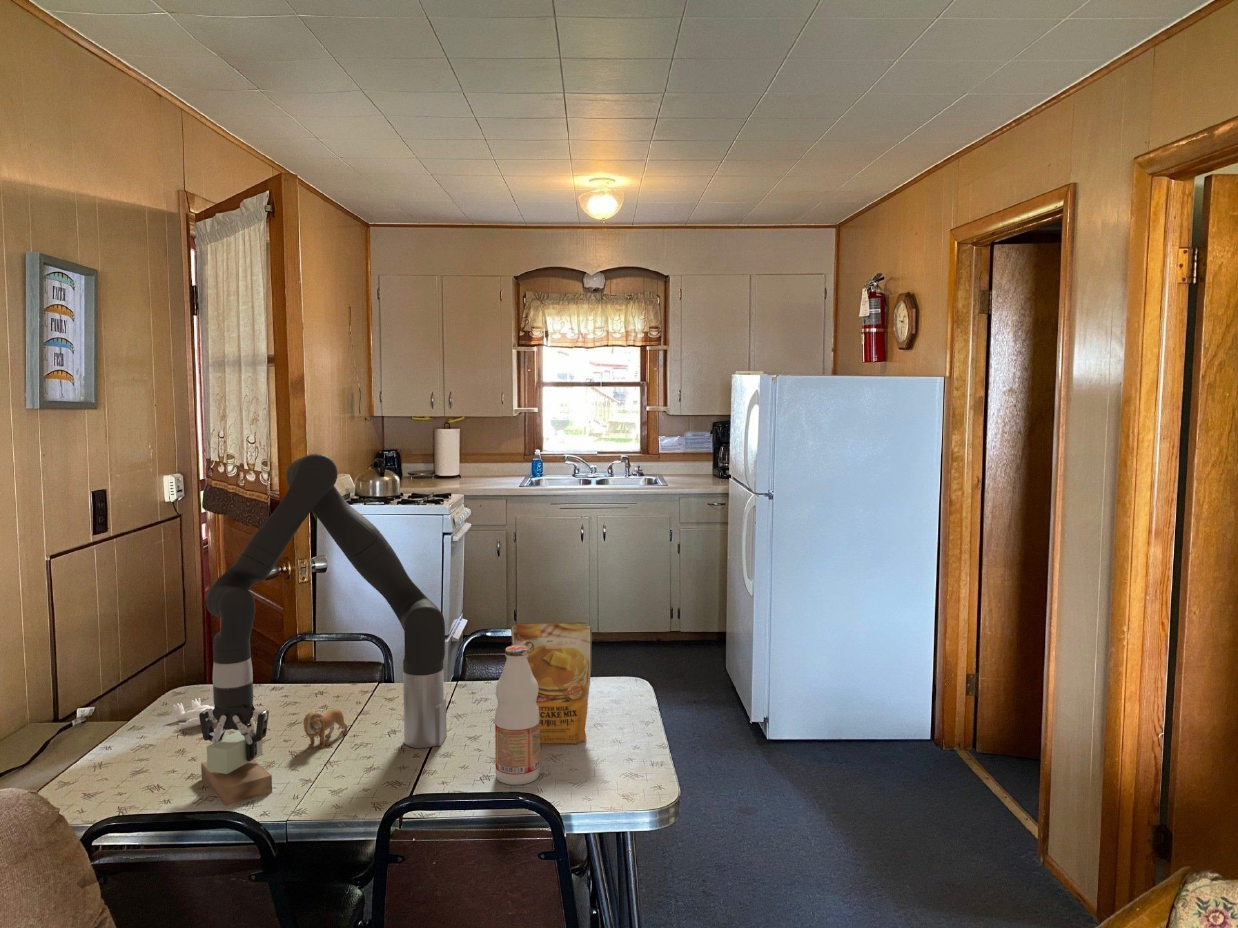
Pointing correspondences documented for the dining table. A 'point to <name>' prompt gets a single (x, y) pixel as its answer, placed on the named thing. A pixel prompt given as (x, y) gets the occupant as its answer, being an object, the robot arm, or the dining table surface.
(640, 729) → the dining table surface
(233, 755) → the sage brick
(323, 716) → the lion figurine
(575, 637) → the pancake mix bag
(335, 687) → the dining table surface
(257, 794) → the walnut brick
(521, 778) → the fruit juice
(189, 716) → the toy creature
